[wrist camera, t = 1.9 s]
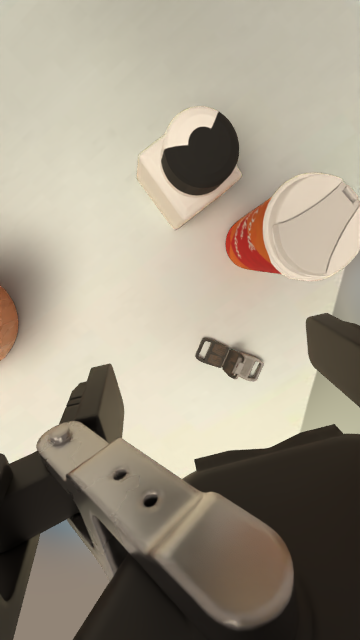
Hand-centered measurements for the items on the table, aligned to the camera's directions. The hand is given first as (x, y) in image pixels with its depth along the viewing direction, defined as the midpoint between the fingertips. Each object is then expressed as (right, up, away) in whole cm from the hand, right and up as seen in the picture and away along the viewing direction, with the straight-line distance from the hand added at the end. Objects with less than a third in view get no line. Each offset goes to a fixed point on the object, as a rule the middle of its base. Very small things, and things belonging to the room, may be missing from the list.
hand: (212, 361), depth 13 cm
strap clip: (+5, -3, +27) cm, 28 cm away
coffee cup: (+7, +11, +26) cm, 29 cm away
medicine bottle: (-1, +17, +24) cm, 29 cm away
